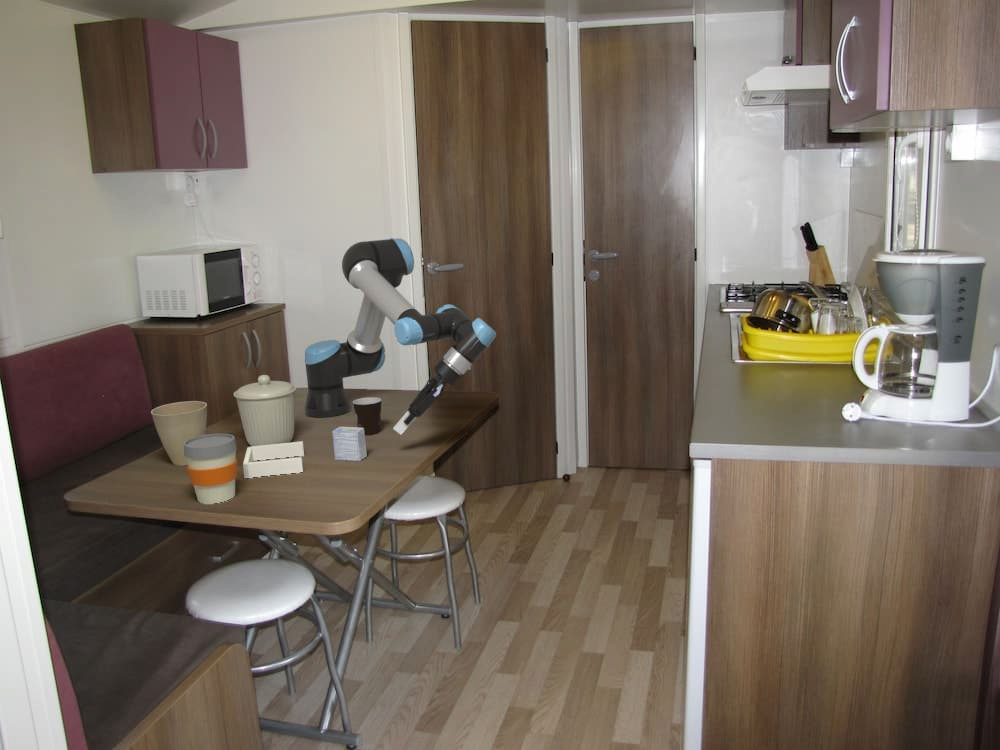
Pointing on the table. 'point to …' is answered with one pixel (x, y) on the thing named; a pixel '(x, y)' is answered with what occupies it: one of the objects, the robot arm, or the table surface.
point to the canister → (267, 411)
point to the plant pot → (179, 426)
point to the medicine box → (349, 443)
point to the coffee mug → (368, 414)
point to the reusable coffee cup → (212, 466)
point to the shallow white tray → (273, 466)
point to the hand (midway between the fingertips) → (397, 431)
